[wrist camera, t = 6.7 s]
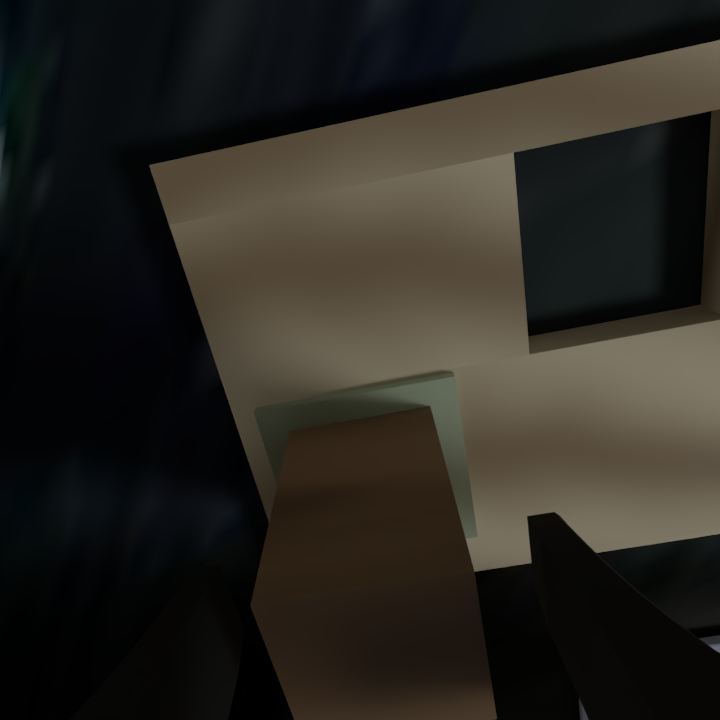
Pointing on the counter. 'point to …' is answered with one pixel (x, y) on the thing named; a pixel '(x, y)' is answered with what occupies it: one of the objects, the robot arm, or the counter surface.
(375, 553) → the peg
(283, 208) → the board
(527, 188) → the counter surface
